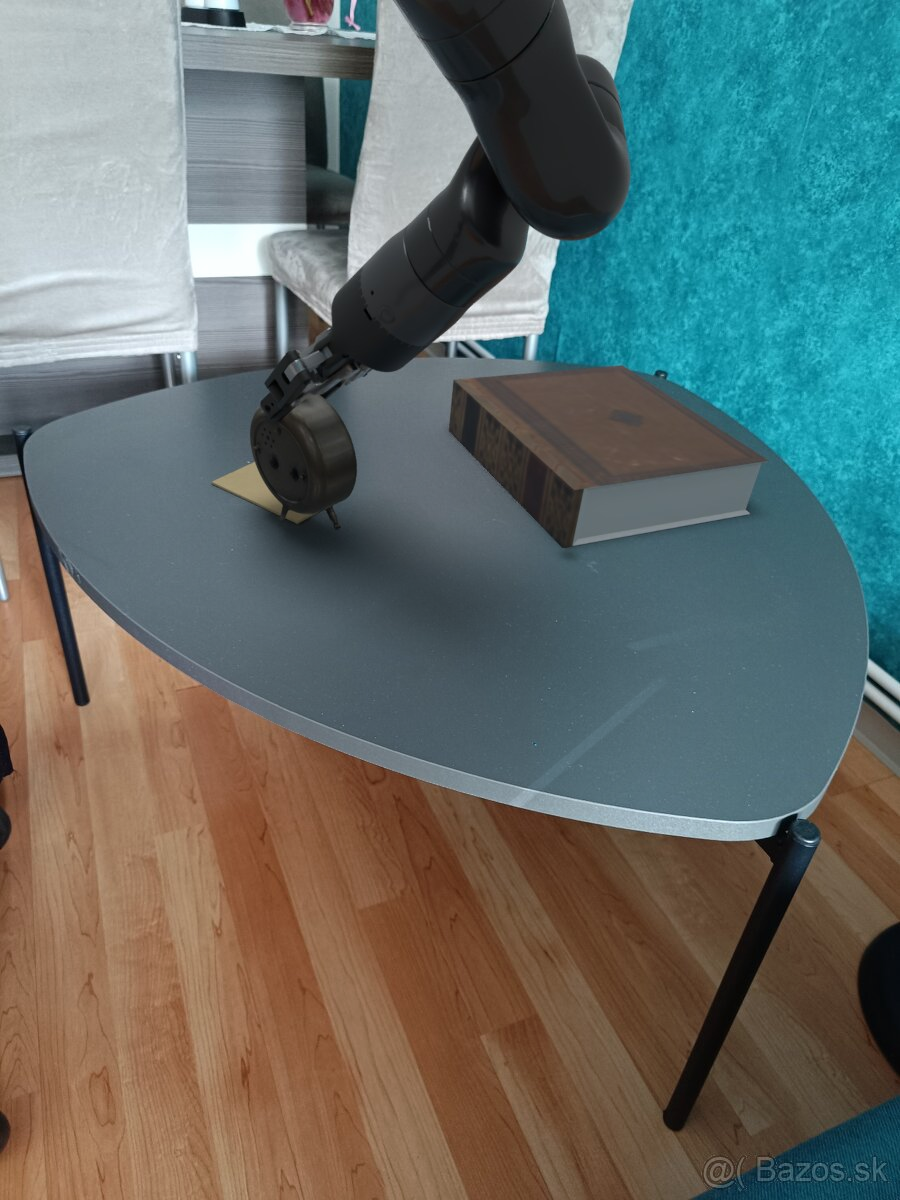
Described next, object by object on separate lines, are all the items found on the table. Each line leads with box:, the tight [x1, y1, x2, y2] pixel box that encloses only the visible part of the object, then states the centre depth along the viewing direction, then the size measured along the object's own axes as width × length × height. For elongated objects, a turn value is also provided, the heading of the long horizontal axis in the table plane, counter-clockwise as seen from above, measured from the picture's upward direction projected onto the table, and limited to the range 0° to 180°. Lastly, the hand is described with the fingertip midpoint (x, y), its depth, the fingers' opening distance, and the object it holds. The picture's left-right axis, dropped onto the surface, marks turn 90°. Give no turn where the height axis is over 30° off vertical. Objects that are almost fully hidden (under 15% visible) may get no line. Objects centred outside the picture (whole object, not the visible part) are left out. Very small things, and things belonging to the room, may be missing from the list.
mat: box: [211, 461, 321, 525], centre depth 88 cm, size 8×12×1 cm, turn 56°
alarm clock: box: [249, 349, 358, 531], centre depth 76 cm, size 11×5×16 cm, turn 47°
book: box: [448, 364, 769, 549], centre depth 96 cm, size 24×28×7 cm
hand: (290, 403), depth 74 cm, fingers closed on alarm clock, 5 cm apart
